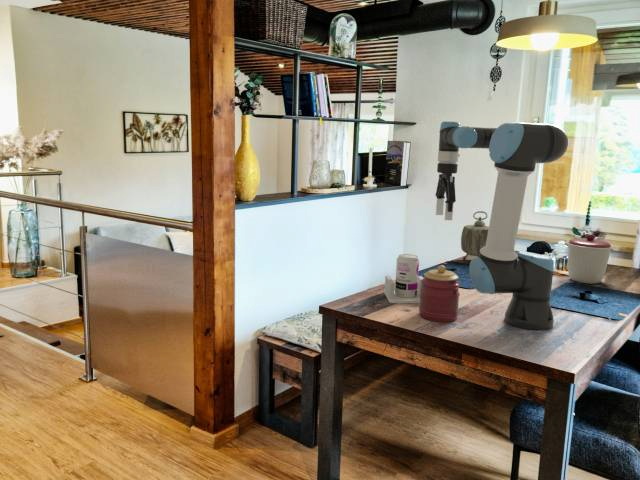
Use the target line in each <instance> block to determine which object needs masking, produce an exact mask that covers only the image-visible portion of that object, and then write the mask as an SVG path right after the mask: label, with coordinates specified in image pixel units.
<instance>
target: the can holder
mask: <svg viewBox="0 0 640 480" xmlns="http://www.w3.org/2000/svg"><path fill="white" fill-rule="evenodd" d="M424 278H425V277H423V276H422V275H418V288H417V295H416V296H415V297H413V298H403V297H399V296H397V295H396V294H395V281H394V280H393V278H392V277H391V275H389V274H387V275H386V274H385V278H384V279H385V281H384V291H383V293H384V295H385V297H386V299H387V300H388V303H389V304H416V305H420V296H421V292H420V290H421V289H422V283H421V280H422V279H424Z"/></svg>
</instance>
